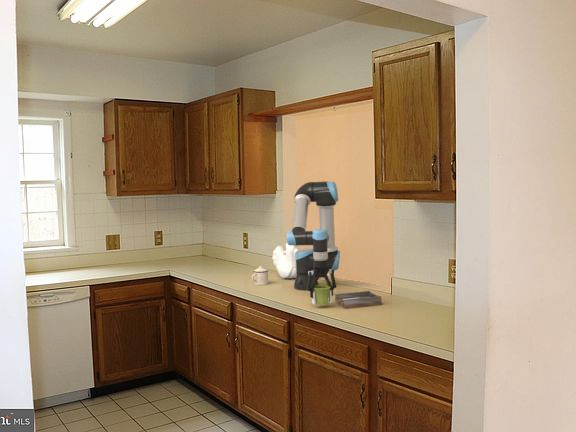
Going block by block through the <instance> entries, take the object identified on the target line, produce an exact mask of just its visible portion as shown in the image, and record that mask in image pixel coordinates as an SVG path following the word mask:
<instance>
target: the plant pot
mask: <svg viewBox="0 0 576 432" xmlns="http://www.w3.org/2000/svg"><path fill="white" fill-rule="evenodd" d="M330 288H331V287H329V286H328V284H319V285H316V286H315V288H314V292H315V305H316V304H317V305H327V304H328V303H329V301H328V296H329V290H330Z"/></svg>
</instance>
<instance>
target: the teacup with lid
mask: <svg viewBox="0 0 576 432" xmlns="http://www.w3.org/2000/svg"><path fill="white" fill-rule="evenodd" d="M251 280H252V282H254V285H255V286H266V285H269V270H268V269H267V268H265V267H263V265H259V267H257V268H256V269H254V270H253V274H252V275H251Z"/></svg>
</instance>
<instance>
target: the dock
mask: <svg viewBox="0 0 576 432" xmlns="http://www.w3.org/2000/svg"><path fill="white" fill-rule="evenodd" d="M334 303H335V304H337V305H338V306H340V307H342V308H343V309H345V310H347V309H348V310H349V309H355V308H356V309H357V308H364V307H365V308H366V307H367V308H368V307H375V306H381V305H382V296H381V295H377V294H375V293H373V292H371V291H370V290H364V291H353V292H346V293H345V292H344V293H334Z"/></svg>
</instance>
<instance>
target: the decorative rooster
mask: <svg viewBox="0 0 576 432" xmlns="http://www.w3.org/2000/svg"><path fill="white" fill-rule="evenodd" d="M298 251H300V250H299V248H298V246H293V245H288V244H287V242H286V243H285V250H284V247H283V245H278V246H276V247H275V249H274V250H273V252H272V257H271V258H272V263H273V266H274V267H275V268H276V271H277V274H278V275H279V277H280V278H282V279H296V275H297V273H296V253H297V252H298Z"/></svg>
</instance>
